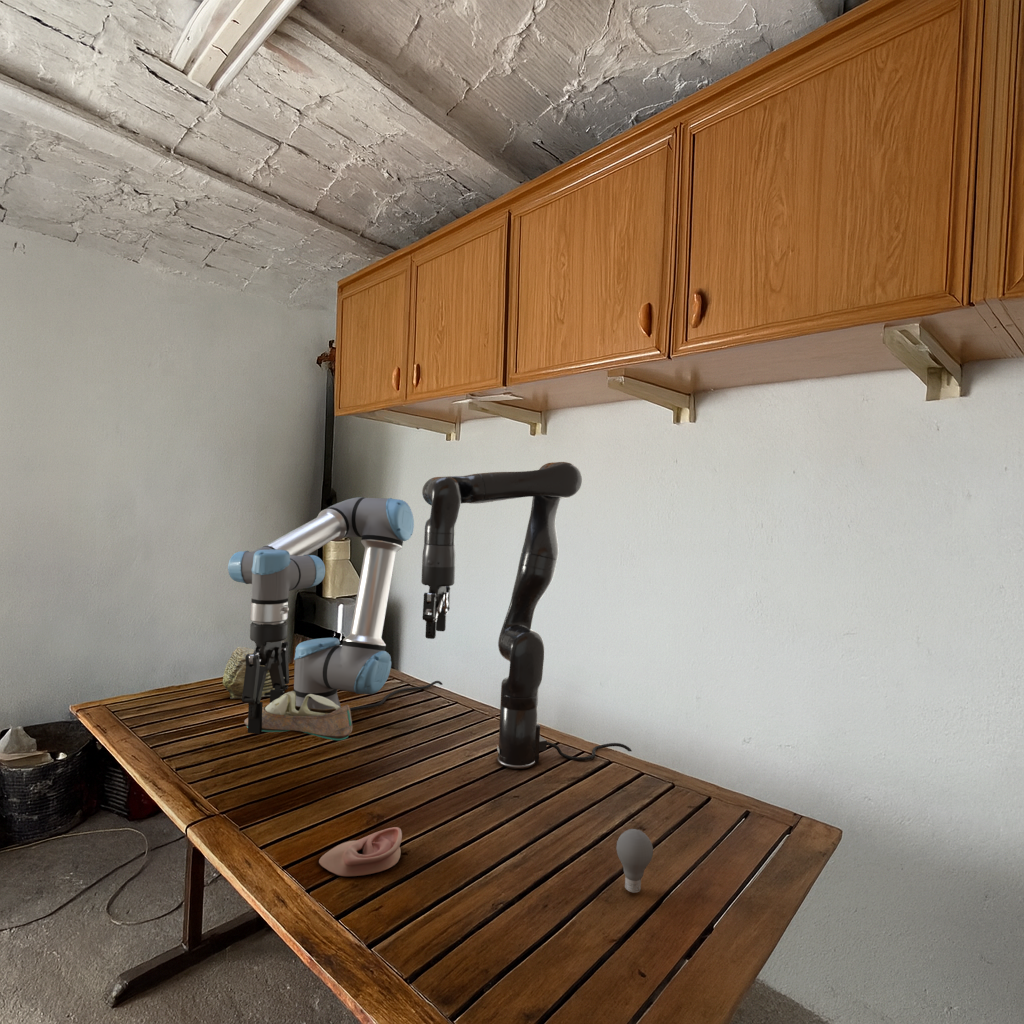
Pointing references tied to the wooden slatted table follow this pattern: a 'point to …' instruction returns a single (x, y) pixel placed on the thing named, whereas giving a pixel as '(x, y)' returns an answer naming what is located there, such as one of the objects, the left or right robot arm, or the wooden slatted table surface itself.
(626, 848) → the light bulb
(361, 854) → the anatomical model
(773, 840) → the wooden slatted table surface
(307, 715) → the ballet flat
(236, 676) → the fossil
